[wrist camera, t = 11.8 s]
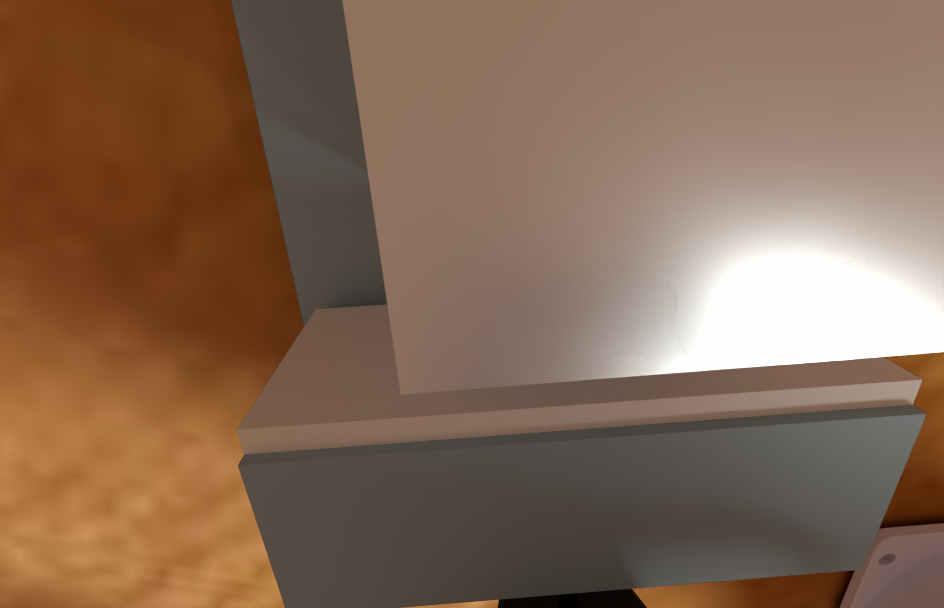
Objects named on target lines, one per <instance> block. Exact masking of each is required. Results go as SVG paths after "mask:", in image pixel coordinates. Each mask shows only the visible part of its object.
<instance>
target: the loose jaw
mask: <svg viewBox="0 0 944 608" xmlns="http://www.w3.org/2000/svg"><path fill="white" fill-rule="evenodd" d="M921 383H922V379H921V378H919V377H917V376H915V375H914V374H912V373H910V372H909V371H907V370H905V369H903V368H902V367H900V366H898V365H896V364H895V363H893V362H891V361H890V360H888V359H886V358H884V357H873V358H860V359H847V360H835V361H822V362H809V363H797V364H784V365H771V366H758V367H746V368H733V369H720V370H708V371H695V372H682V373H670V374H657V375H644V376H631V377H619V378H606V379H593V380H581V381H568V382H555V383H542V384H530V385H517V386H504V387H492V388H479V389H466V390H453V391H441V392H428V393H415V394H403V395H401V393H400V387H399V380H398V373H397V366H396V360H395V353H394V346H393V339H392V332H391V326H390V319H389V312H388V305H387V304H386V305H371V306H357V307H342V308H327V309H315V311H314V312H313V314H312V316H311V317H310V319H309V320H308V322H307V323H306V325H305V326H304V328H303V329H302V331H301V332H300V334H299V335H298V337H297V338H296V340H295V341H294V343H293V345H292V346H291V348H290V349H289V351H288V352H287V354H286V355H285V357H284V358H283V360H282V361H281V363H280V364H279V366H278V367H277V369H276V370H275V372H274V374H273V375H272V377H271V378H270V380H269V381H268V383H267V384H266V386H265V387H264V389H263V390H262V392H261V393H260V395H259V396H258V398H257V399H256V401H255V403H254V404H253V406H252V407H251V409H250V410H249V412H248V413H247V415H246V416H245V418H244V419H243V421H242V422H241V424H240V425H239V427H238V429H237V433H238V436H239V439H240V442H241V446H242V449H243V452H244V456H243V458H242V459H241V461H240V463H239V465H238V467H239V470H240V473H241V476H242V479H243V482H244V485H245V488H246V491H247V494H248V497H249V500H250V503H251V506H252V509H253V512H254V515H255V518H256V521H257V524H258V527H259V530H260V533H261V536H262V539H263V542H264V545H265V548H266V551H267V554H268V557H269V560H270V563H271V566H272V569H273V572H274V575H275V578H276V581H277V584H278V587H279V590H280V593H281V596H282V599H283V602H284V605H285V608H401V607H413V606H426V605H438V604H450V603H462V602H474V601H486V600H499V599H511V598H523V597H535V596H547V595H560V594H572V593H584V592H596V591H608V590H621V589H633V588H645V587H657V586H669V585H681V584H694V583H706V582H718V581H730V580H742V579H755V578H767V577H779V576H791V575H803V574H815V573H828V572H840V571H852V570H862V568H863V566H864V564H865V561H866V559H867V556H868V554H869V552H870V549H871V547H872V544H873V542H874V539H875V537H876V535H877V532H878V530H879V527H880V525H881V523H882V520H883V518H884V515H885V513H886V511H887V508H888V506H889V503H890V501H891V499H892V496H893V494H894V491H895V489H896V487H897V484H898V482H899V479H900V477H901V475H902V472H903V470H904V467H905V465H906V463H907V460H908V458H909V455H910V453H911V451H912V448H913V446H914V443H915V441H916V439H917V436H918V434H919V431H920V429H921V427H922V424H923V422H924V419H925V417H926V415H927V414H926V413H925V412H923V411H922V410H920V409H919V408H917V407H916V406H914V405H913V403H914V400H915V398H916V395H917V393H918V390H919V388H920V385H921Z"/></svg>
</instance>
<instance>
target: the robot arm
mask: <svg viewBox="0 0 944 608" xmlns="http://www.w3.org/2000/svg"><path fill="white" fill-rule="evenodd" d="M498 608H647V607H646V606H645V605H644V603H643V602H642V601H641V600H640V598H639V597H638V596H637V595H636V593H635V592H634V591H633V590H632V589H621V590H608V591H596V592H584V593H572V594H560V595H547V596H535V597H523V598H511V599H499V603H498ZM840 608H944V523H939V524H926V525H914V526H901V527H889V528H882V529H879V530H878V532H877V535H876V537H875V539H874V542H873V544H872V547H871V549H870V552H869V554H868V556H867V559H866V561H865V564H864V566H863V568H862V570H855V571H854V573H853V576H852V578H851V581H850V583H849V586H848V588H847V591H846V593H845V596H844V598H843V600H842V603H841V605H840Z"/></svg>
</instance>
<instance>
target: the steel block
mask: <svg viewBox="0 0 944 608" xmlns="http://www.w3.org/2000/svg"><path fill="white" fill-rule="evenodd" d="M342 1H343V8H344V15H345V22H346V28H347V35H348V42H349V49H350V55H351V62H352V69H353V76H354V82H355V89H356V96H357V103H358V109H359V116H360V123H361V130H362V137H363V143H364V150H365V157H366V164H367V170H368V177H369V184H370V191H371V197H372V204H373V211H374V218H375V224H376V231H377V238H378V245H379V251H380V258H381V265H382V272H383V278H384V285H385V292H386V299H387V305H388V312H389V319H390V326H391V332H392V339H393V346H394V353H395V360H396V366H397V373H398V380H399V387H400V393H401V395H403V394H415V393H428V392H441V391H453V390H466V389H479V388H492V387H504V386H517V385H530V384H542V383H555V382H568V381H581V380H593V379H606V378H619V377H631V376H644V375H657V374H670V373H682V372H695V371H708V370H720V369H733V368H746V367H758V366H771V365H784V364H797V363H809V362H822V361H835V360H847V359H860V358H873V357H886V356H898V355H911V354H924V353H936V352H944V0H342Z"/></svg>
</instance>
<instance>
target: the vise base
mask: <svg viewBox="0 0 944 608" xmlns="http://www.w3.org/2000/svg"><path fill="white" fill-rule="evenodd" d="M231 2H232V7H233V11H234V16H235V20H236V25H237V29H238V34H239V38H240V43H241V47H242V52H243V56H244V61H245V65H246V70H247V74H248V78H249V83H250V87H251V92H252V96H253V101H254V105H255V110H256V114H257V119H258V123H259V128H260V132H261V137H262V141H263V146H264V150H265V155H266V159H267V163H268V168H269V172H270V177H271V181H272V186H273V190H274V195H275V199H276V204H277V208H278V213H279V217H280V222H281V226H282V231H283V235H284V240H285V244H286V248H287V253H288V257H289V262H290V266H291V271H292V275H293V280H294V284H295V289H296V293H297V298H298V302H299V307H300V311H301V316H302V320H303V325H304V326H305V325H306V323H307V322H308V320H309V319H310V317H311V316H312V314H313V312H314V311H315V309H327V308H342V307H357V306H371V305H386V304H387V299H386V292H385V285H384V278H383V272H382V265H381V258H380V251H379V245H378V238H377V231H376V224H375V218H374V211H373V204H372V197H371V191H370V184H369V177H368V170H367V164H366V157H365V150H364V143H363V137H362V130H361V123H360V116H359V109H358V103H357V96H356V89H355V82H354V76H353V69H352V62H351V55H350V49H349V42H348V35H347V28H346V22H345V15H344V8H343V1H342V0H231Z"/></svg>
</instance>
